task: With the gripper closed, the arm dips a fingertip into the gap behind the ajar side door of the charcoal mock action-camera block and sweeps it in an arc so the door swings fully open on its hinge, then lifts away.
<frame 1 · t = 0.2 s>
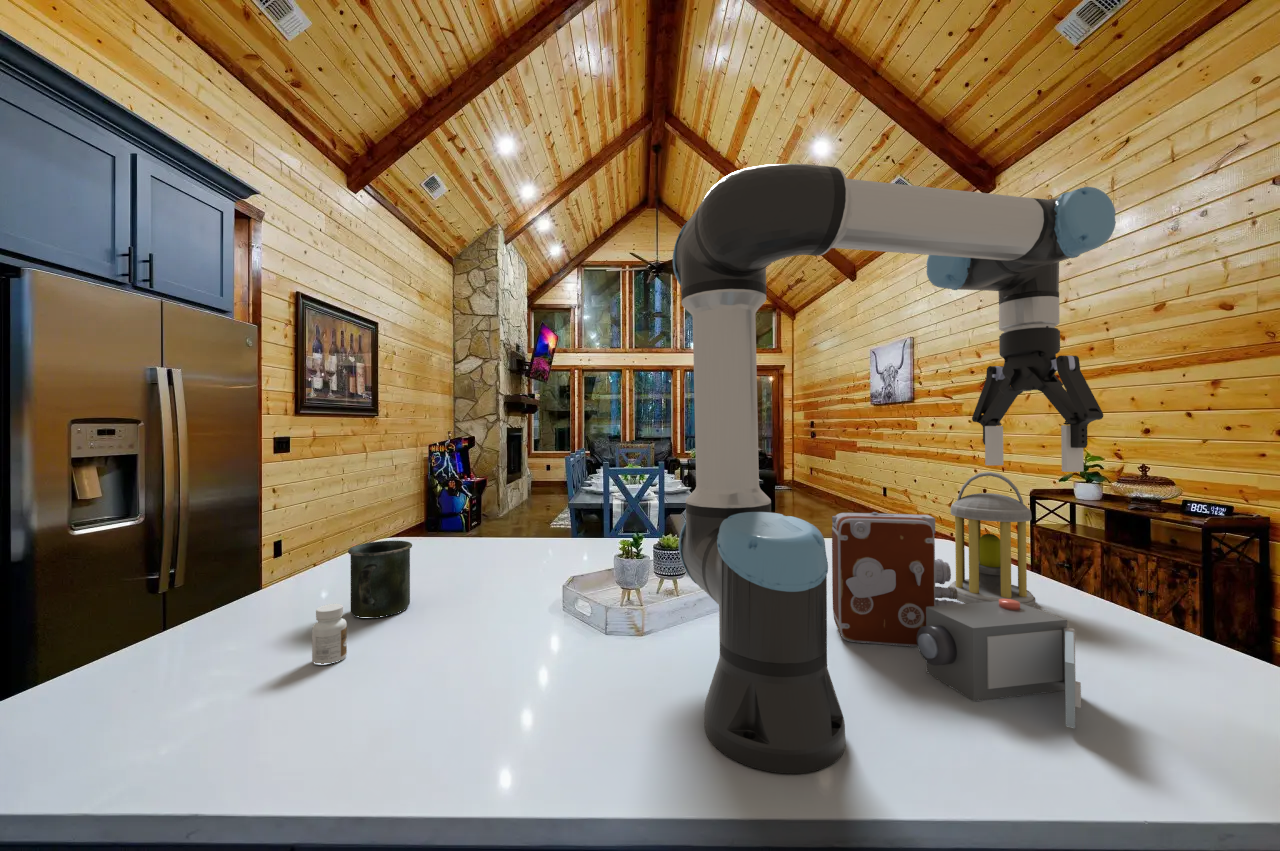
hand: (1030, 468, 81), 27 cm above the kitchen island, fingers open, 13 cm apart
side door: (1071, 674, 62), point 4 cm above the kitchen island, hinge at 40.0°
pill bottle: (329, 661, 77), on the kitchen island
lantern: (990, 599, 104), on the kitchen island
camera block: (994, 680, 70), on the kitchen island
cine camera: (898, 640, 84), on the kitchen island
mug: (378, 614, 97), on the kitchen island
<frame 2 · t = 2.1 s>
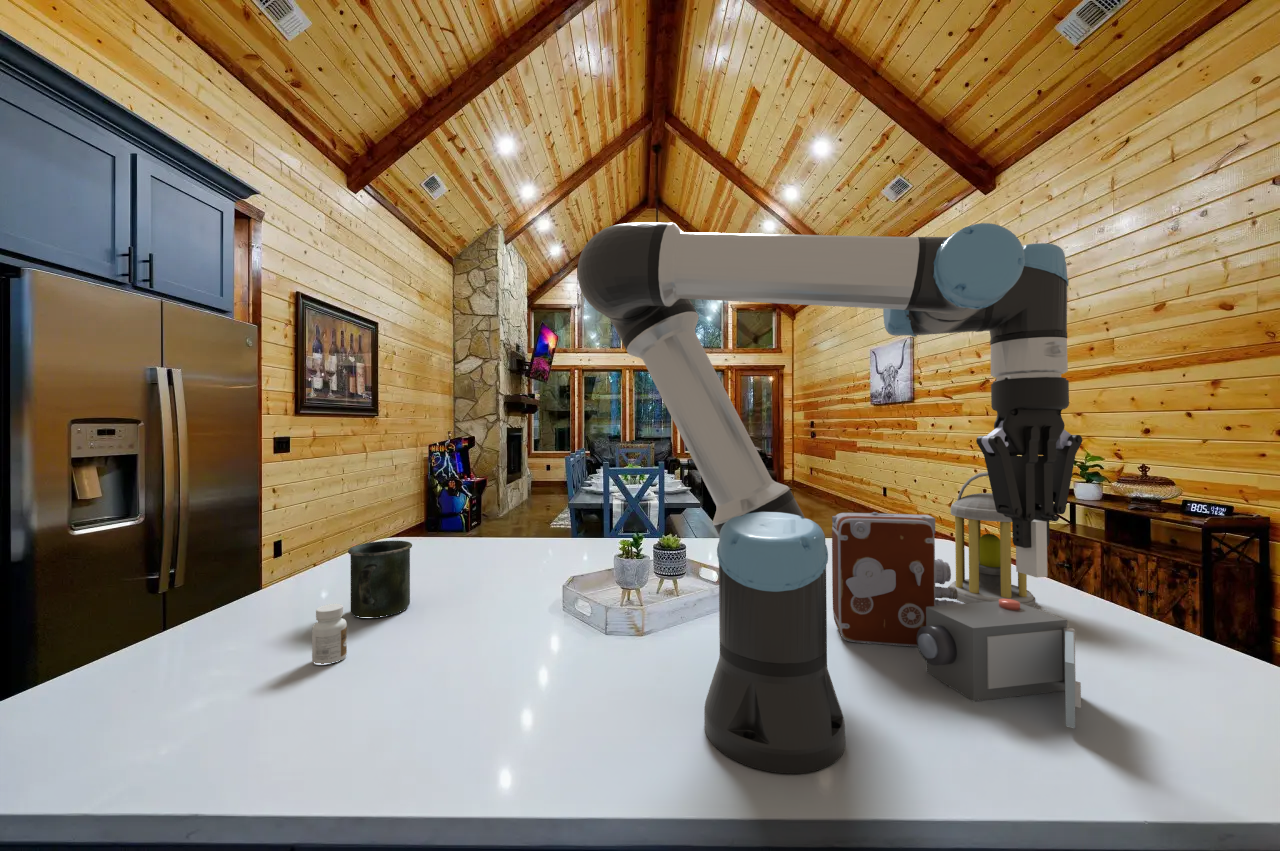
hand: (1031, 573, 63), 16 cm above the kitchen island, fingers closed
nothing on the kitchen island moved.
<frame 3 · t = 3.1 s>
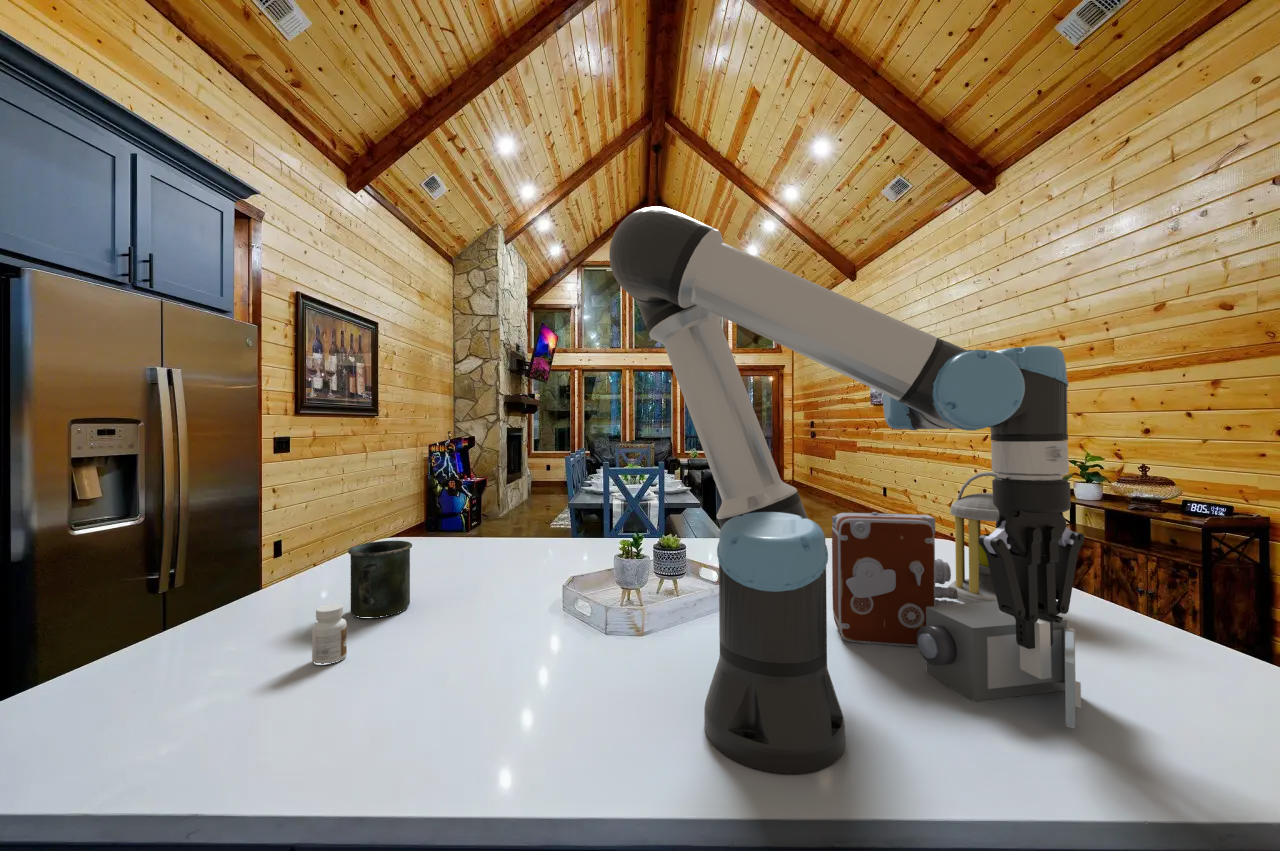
hand: (1035, 673, 63), 4 cm above the kitchen island, fingers closed
nothing on the kitchen island moved.
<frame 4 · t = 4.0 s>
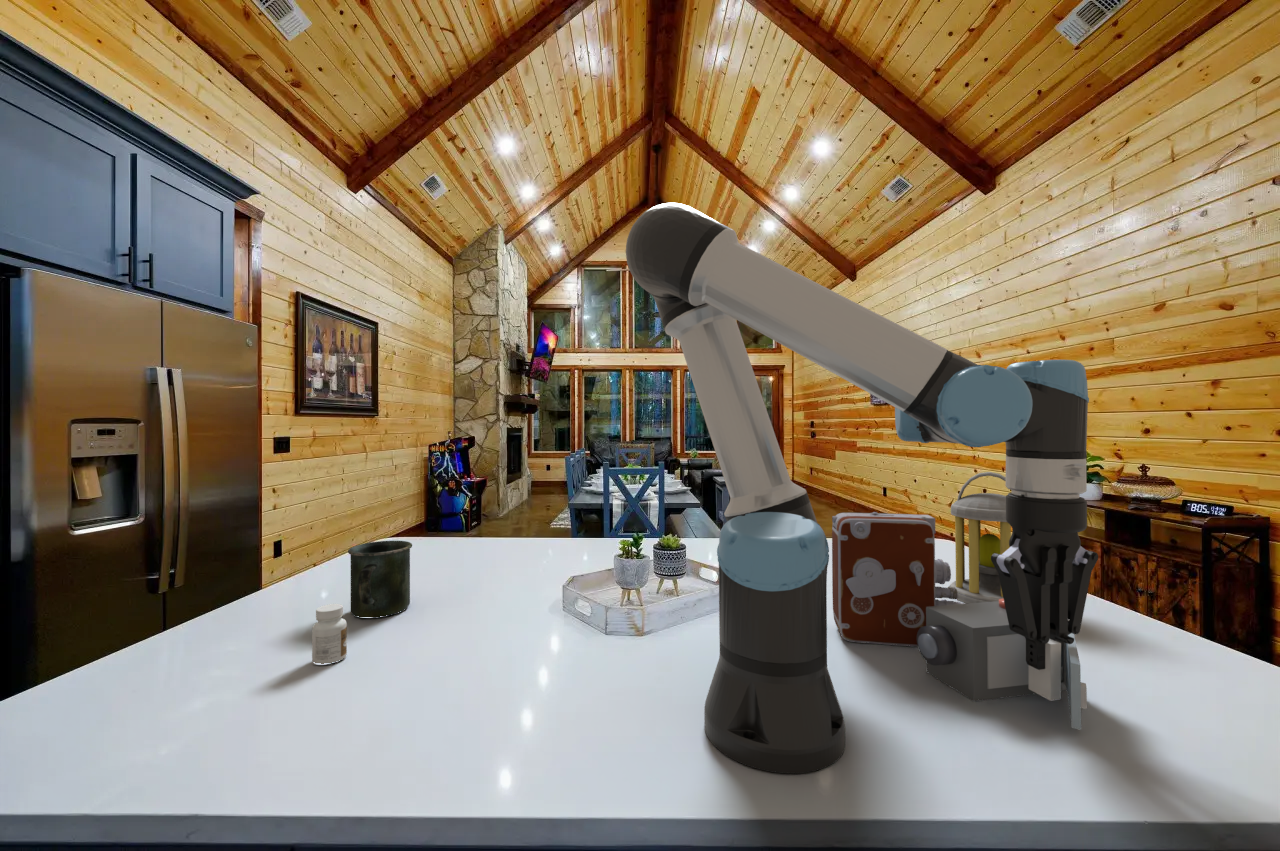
hand: (1044, 693, 62), 2 cm above the kitchen island, fingers closed
side door: (1074, 675, 62), point 4 cm above the kitchen island, hinge at 42.4°, touching gripper
everything else where it was.
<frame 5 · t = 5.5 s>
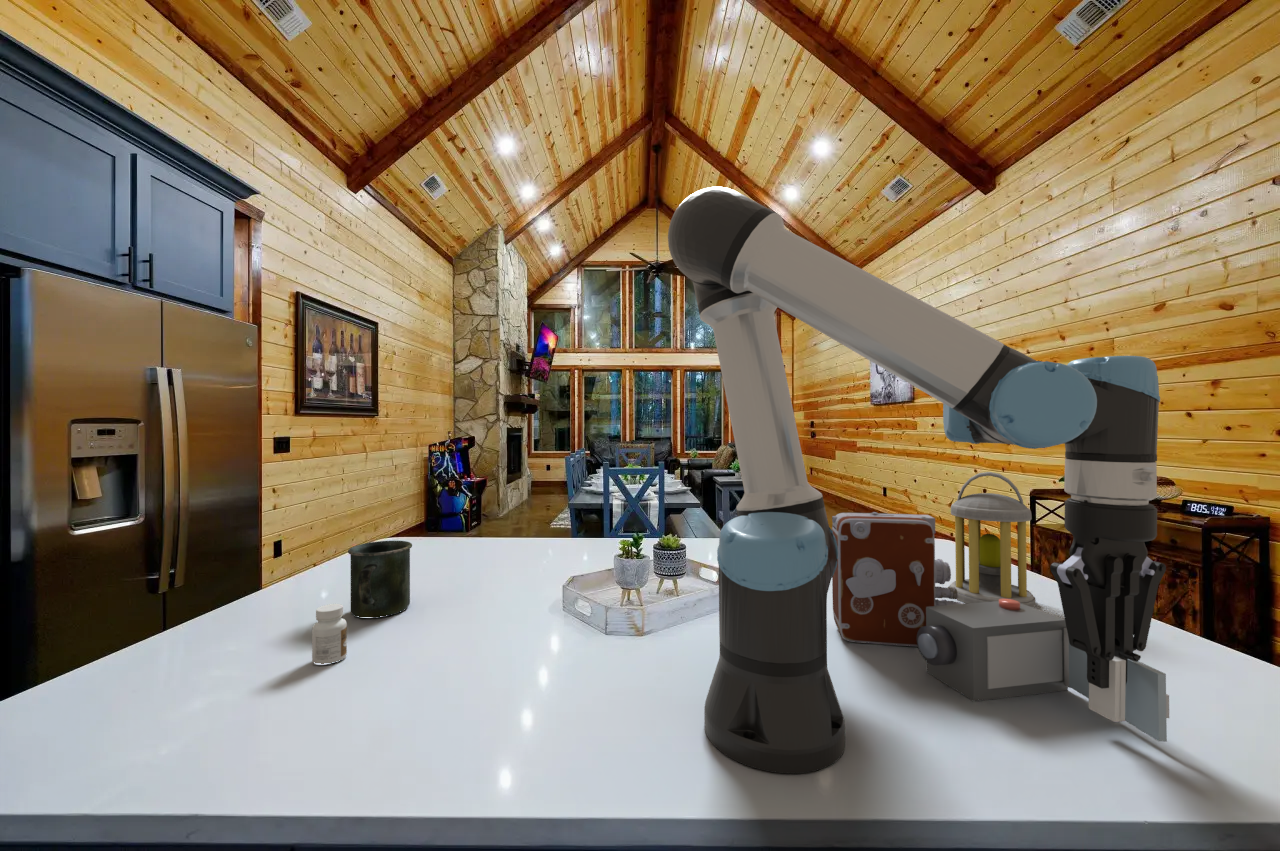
hand: (1106, 714, 57), 2 cm above the kitchen island, fingers closed
side door: (1110, 679, 61), point 4 cm above the kitchen island, hinge at 78.2°, touching gripper
everything else where it was.
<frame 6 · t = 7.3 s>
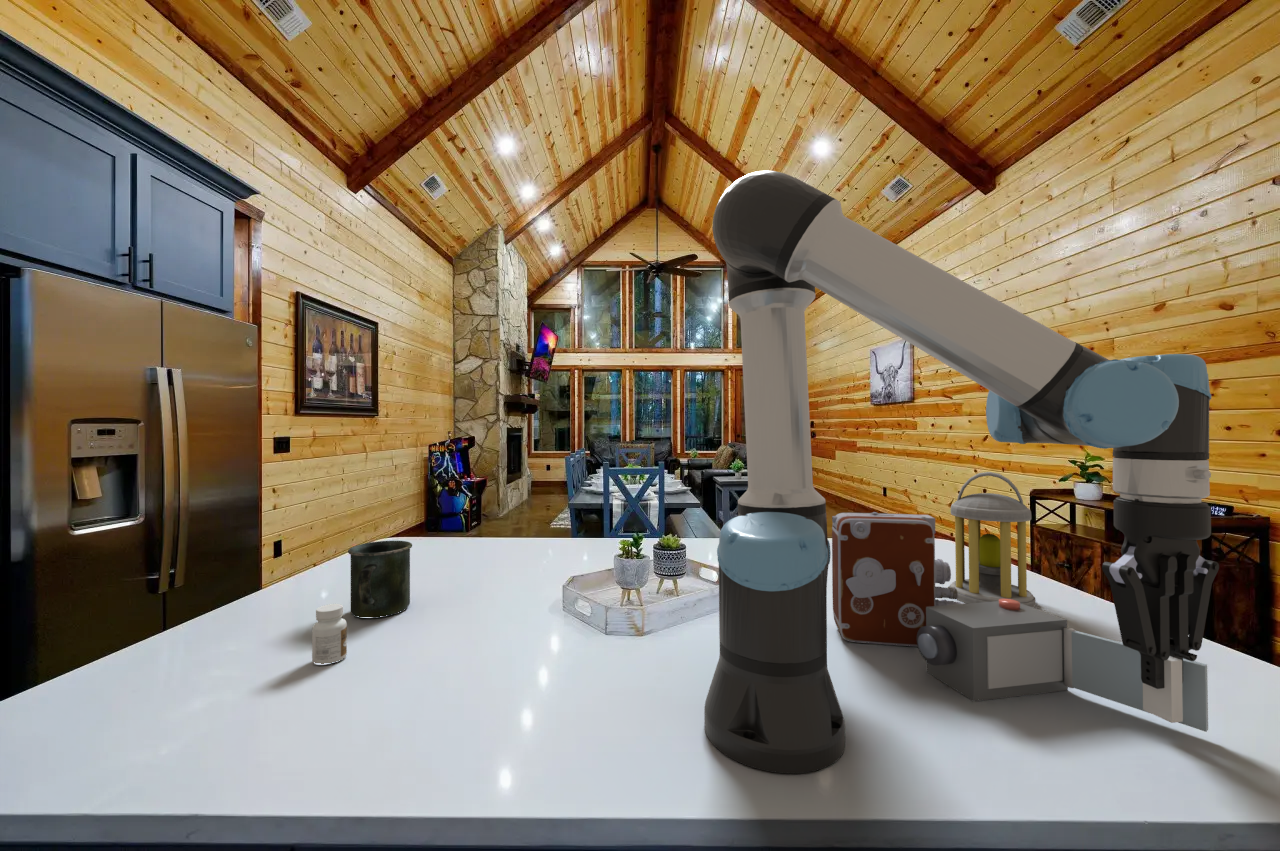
hand: (1162, 715, 57), 2 cm above the kitchen island, fingers closed
side door: (1129, 674, 62), point 4 cm above the kitchen island, hinge at 111.7°, touching gripper
everything else where it was.
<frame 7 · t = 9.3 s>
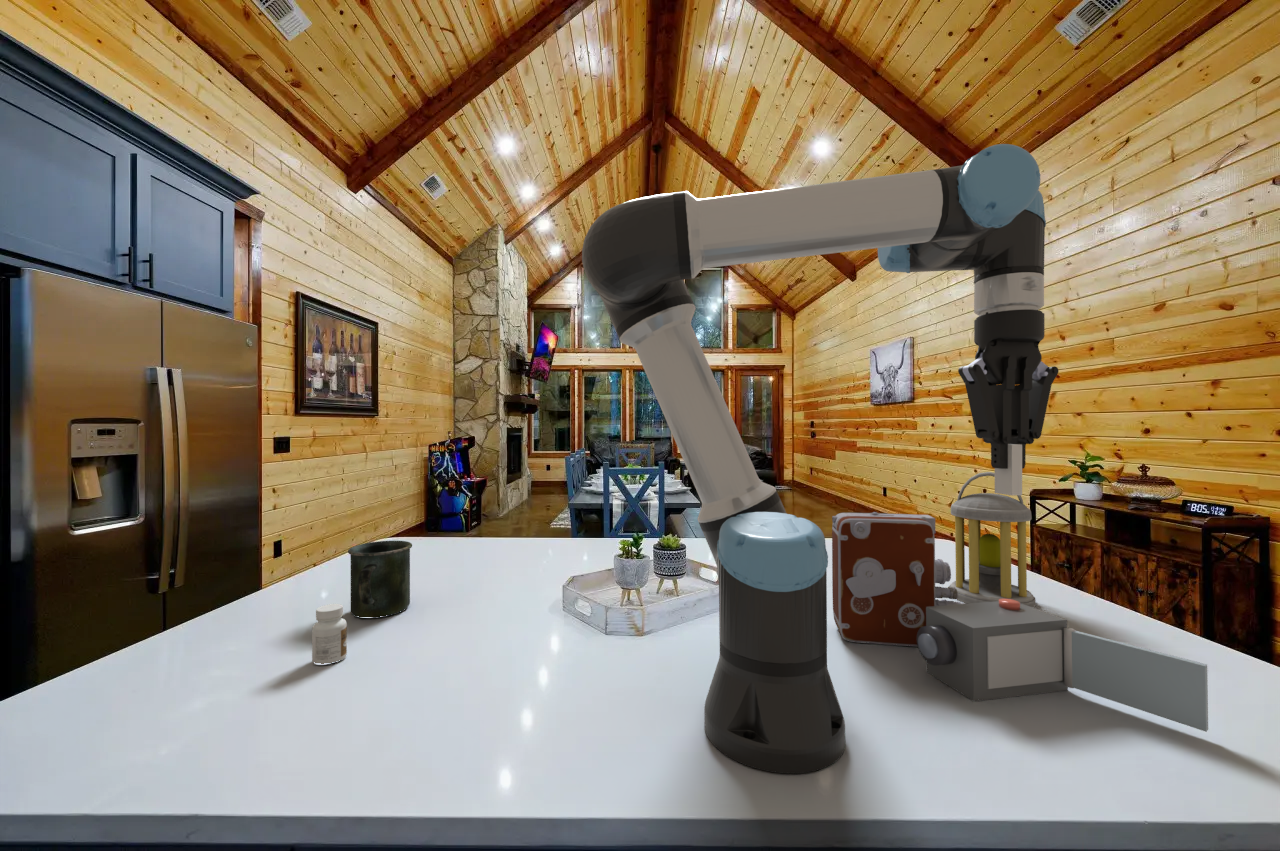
hand: (1008, 493, 68), 25 cm above the kitchen island, fingers closed
side door: (1129, 674, 62), point 4 cm above the kitchen island, hinge at 111.8°
everything else where it was.
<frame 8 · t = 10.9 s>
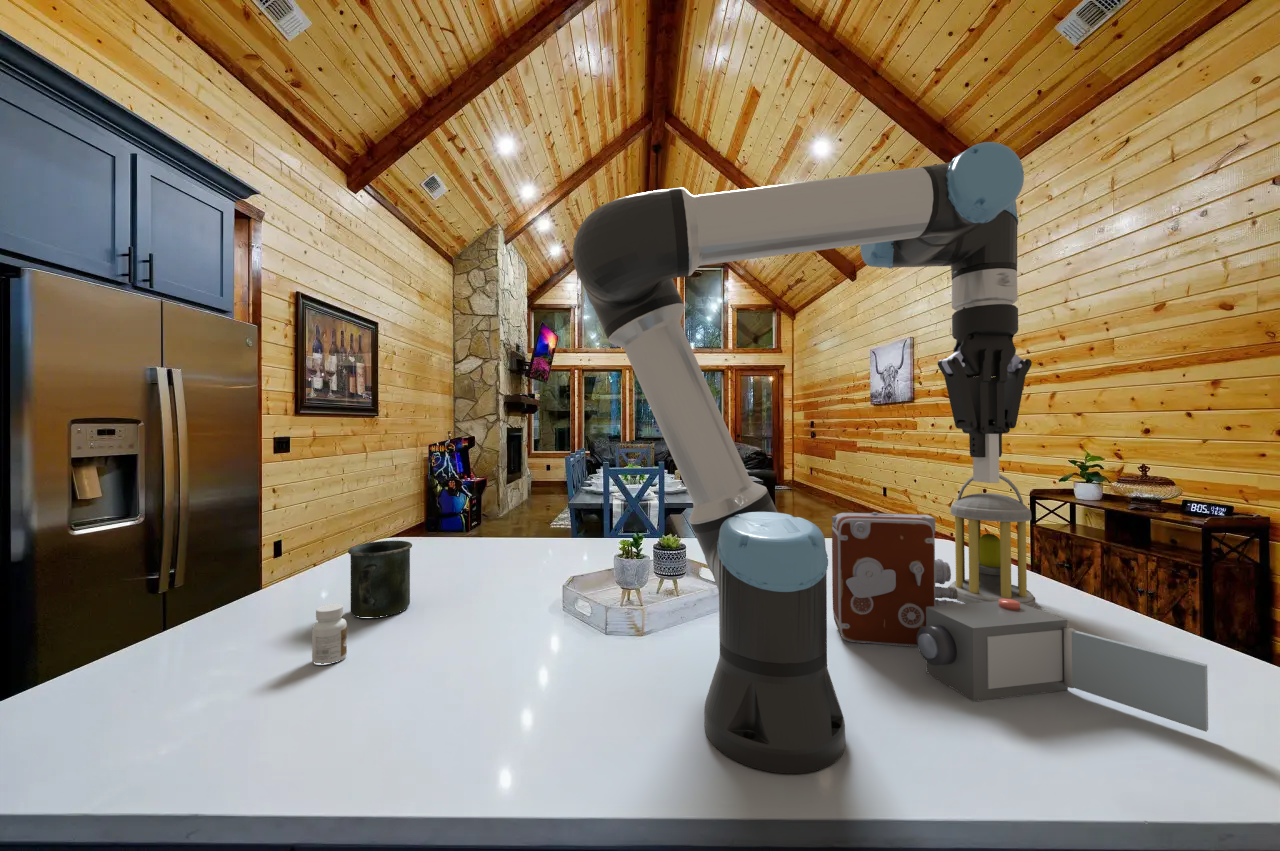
hand: (986, 481, 71), 26 cm above the kitchen island, fingers closed
nothing on the kitchen island moved.
at the end: side door at +112° (first picture: +40°) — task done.
